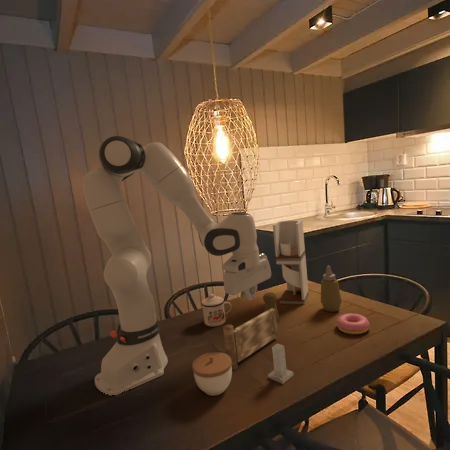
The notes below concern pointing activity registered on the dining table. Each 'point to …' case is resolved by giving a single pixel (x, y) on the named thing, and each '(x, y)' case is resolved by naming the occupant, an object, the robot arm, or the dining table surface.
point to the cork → (271, 303)
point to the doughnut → (352, 323)
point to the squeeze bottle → (330, 292)
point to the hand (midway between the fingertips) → (251, 298)
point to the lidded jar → (213, 372)
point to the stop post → (279, 365)
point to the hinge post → (230, 344)
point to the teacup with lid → (214, 310)
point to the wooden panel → (255, 333)
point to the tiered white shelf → (291, 260)
